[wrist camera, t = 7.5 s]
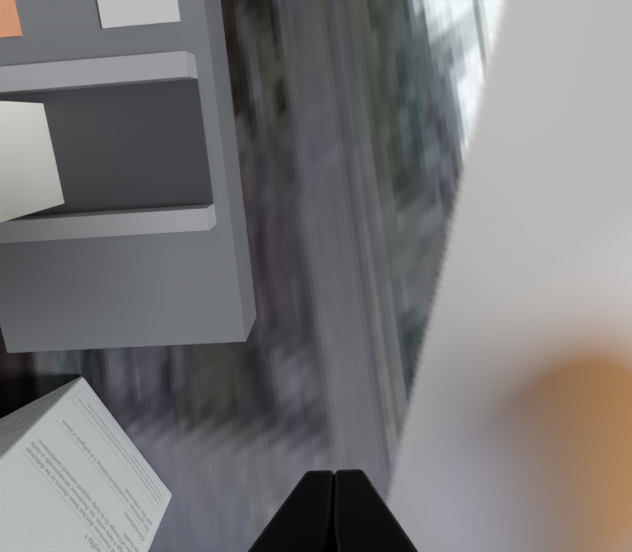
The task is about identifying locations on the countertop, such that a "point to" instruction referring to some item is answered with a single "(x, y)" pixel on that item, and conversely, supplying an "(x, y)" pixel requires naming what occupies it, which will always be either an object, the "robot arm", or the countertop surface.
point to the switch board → (126, 179)
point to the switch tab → (26, 161)
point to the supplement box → (74, 479)
